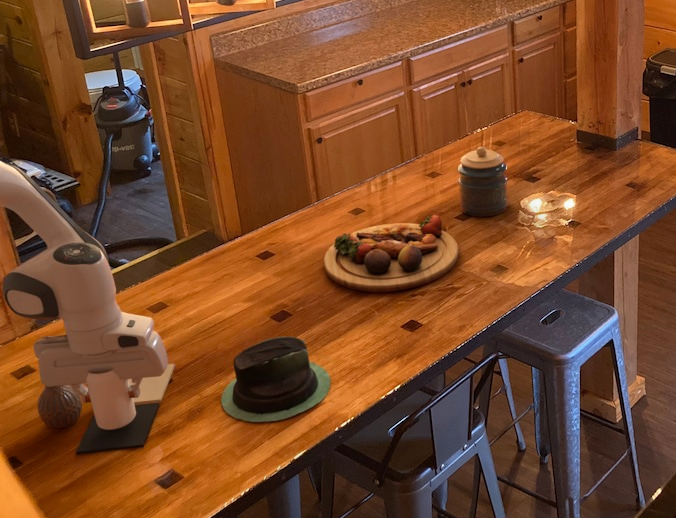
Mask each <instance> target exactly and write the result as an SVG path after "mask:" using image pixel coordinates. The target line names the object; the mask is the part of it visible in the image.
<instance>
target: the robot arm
mask: <svg viewBox="0 0 676 518" xmlns="http://www.w3.org/2000/svg"><path fill="white" fill-rule="evenodd" d="M0 207H2V208H6V209H8V210H11V211H13V212H14V213H15V214H17V215H18V216H19V217H20V219H22V220H23V221H24V222H25V223H26V224H27V225H28V226H29V228H31V229H32V230H33V231H34V233H36V234H37V235H38V236H39V238H41V240H43V241H44V243H45V245H46V246H47V248H46V249H44V250H43V251H41V252H40V253H38V254H37V255H35V256H33V257H31V258H29V259H28V260H26V261H24V262H23V263H21V264H20V265H18V266H17V267H15V268H13V269H12V270H10V272H9V273H7V274H6V275H5V276H4V277H3V280H2V287H1V289H2V296H3V298H4V301H5V303H6V305H7V307H8V308H9V310H11V311H12V312H13V313H14V314H15V315H17V316H19V317H22V318H24V319H30V320H54V319H57V318H59V319H61V320H63V322H62V323H63V327H64V331H65V334H59V335H54V336H53V335H51V336H49V335H48V336H47V335H46V336H42V337H40V339H37V340H36V341H35V342H34V344H33V351H34V356H35V357H36V358H37V359H38V372H39V373H38V374H39V378H40V382H41V384H43V385H44V387H45V386H47V387H53V386H64V385H70V386H71V387H72V389H73V390H74V391H75V392H76V393H77V394H79V395H80V397H81V401H82V404H87V403H91V399H90V395H89V391H88V387H86V386H85V384H87V381H86V378H87V376H88V372H87V371H89V372H91V373H93V372H103V371H109V370H112V369H114V370H113V371H114V372H115V373H116V374H117V375H118V377H119V379H120V380H126V379H132V383H135V382H136V383H135V385H130V388H129V390H128V394H129V398H138V397H139V395H140V388H139V385H140V383H141V380H142V378H146V377H157V376H161V375H162V374H163V373H164V371H165V370H166V368H167V365H168V364H169V357H168V353H167V350H166V347H165V344H164V342H163V339H162V337H161V335H160V334H159V333H158V332H156V331H155V330H154V328H155V321H154V319H153V318H152V317H149V316H145V315H138V314H134V313H129V312H128V313H127V312H124V311H122V310H121V307H120V305H119V304H118V302H117V299H116V296H117V288H116V284H115V280H114V276H113V272H112V269H111V266H110V264H109V257H108V254H107V251H106V249H105V247H104V246H103V245H102V244H101V243H100V242H99V240H97V239H96V238H94V236H93V235H90V234H89V233H88V232H86V231H85V230H84V229H83V228H81V227H80V226H79V225H78V224H77V223H76V222H75V221H74V220H73V218H71V217H70V216H69V215H68V214H67V213H66V212H65V211H64V210H63V209H62V208H61V207H60V206H59V204H57V203H56V202H55V201H54V200H53V199H52V197H50V196H49V195H48V193H46V191H44V189H43V188H41V186H40V185H39V184H37V182H36V181H35V180H34V179H33V178H31V176H29V175H28V174H27V173H26V172H25V171H24V170H23V169H21V168H19V167H18V166H16V165H14V164H10V163H5V162H4V161H2V160H0Z"/></svg>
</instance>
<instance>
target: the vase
mask: <svg viewBox="0 0 676 518" xmlns="http://www.w3.org/2000/svg"><path fill="white" fill-rule="evenodd" d="M82 411H83V401H82V398H81V396H80V395H79V394H77V393H76V392H75V391H74V390H73V389H72V387H71V385H64V386H53V387H47V386H45V385H44V389H43V390H42V392H41V393H40V395H39V397H38V400H37V413H38V415H39V418H40V419H41V421H42V422H43V423H44V425H46V426H48V427H49V428H53V429H57V430H58V429H60V430H61V429H65V428H68V427H71V426H72V425H74V424H75V423H76V422H77V421H78V419H79V418H80V416H81V414H82Z"/></svg>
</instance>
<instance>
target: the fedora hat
mask: <svg viewBox="0 0 676 518" xmlns="http://www.w3.org/2000/svg"><path fill="white" fill-rule="evenodd" d="M233 368H234V374H235V378H234V379H233V380H232V381H231V382H229V383H228V384H227V386H226V387H224V390H223V392H222V395H221V398H220V399H221V400H220V401H221V406H222V408H223V410H224V412H225V413H227V414H228V415H229V416H231V417H233V418H234V419H237V420H238V419H239V420H242V421H245V422H252V423H262V422H263V423H264V422H273V421H274V422H276V421H281V420H285V419H288V418H291V417H294V416H296V415H299V414H300V413H303V412H305V411H307V410H310V409H311V408H313V407H315V406H317V404H319V403H321V402H322V401H323V400H324V399H325V398H326V397H327V395H328V393H329V391H330V388H331V384H332V383H331V381H332V379H331V376H330V374H329V372H328V371H327V370H326V369H325V368H324V367H323V366H320V365H319V364H317V363H315V362H311V361H310V359H309V351H308V347H307V345H306V340H305V339H301V338H298V337H297V336H277V337H273V338H268V339H264V340H263V341H260V342H258V343H256V344H253V345H251V346H248V347H247V348H245V349H243V350H241V352H239V353H237V354H236V356H235V357H234V358H233Z"/></svg>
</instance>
